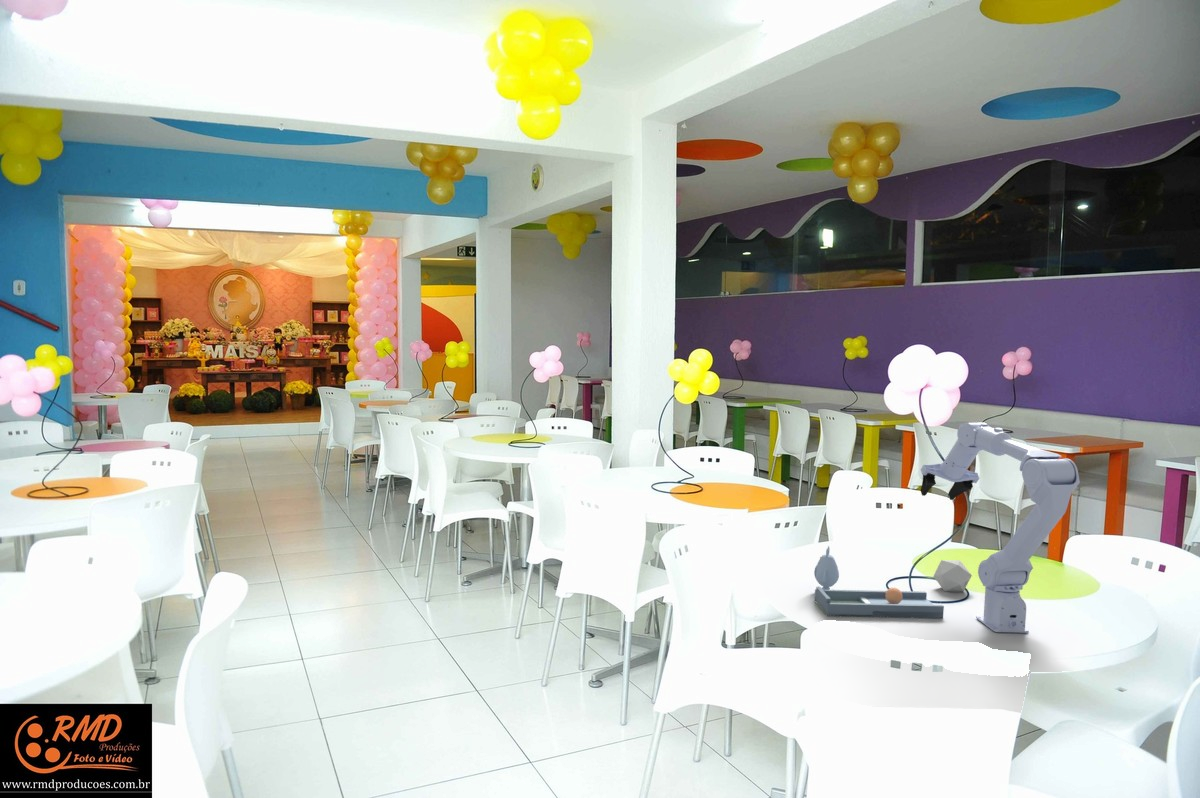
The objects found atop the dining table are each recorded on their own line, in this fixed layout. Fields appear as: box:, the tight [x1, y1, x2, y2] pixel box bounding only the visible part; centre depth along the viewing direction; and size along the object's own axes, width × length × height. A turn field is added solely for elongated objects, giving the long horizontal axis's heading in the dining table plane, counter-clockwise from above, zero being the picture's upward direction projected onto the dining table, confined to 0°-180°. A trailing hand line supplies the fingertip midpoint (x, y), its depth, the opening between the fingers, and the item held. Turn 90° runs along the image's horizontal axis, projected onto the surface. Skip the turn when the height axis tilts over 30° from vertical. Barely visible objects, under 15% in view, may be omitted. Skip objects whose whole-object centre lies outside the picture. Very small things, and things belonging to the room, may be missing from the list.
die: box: [933, 559, 973, 592], centre depth 215 cm, size 8×9×10 cm
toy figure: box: [813, 545, 840, 590], centre depth 211 cm, size 11×6×12 cm, turn 156°
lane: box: [814, 586, 945, 619], centre depth 198 cm, size 11×28×4 cm, turn 90°
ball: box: [885, 587, 903, 604], centre depth 198 cm, size 4×4×4 cm
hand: (936, 495), depth 213 cm, fingers open, 7 cm apart
